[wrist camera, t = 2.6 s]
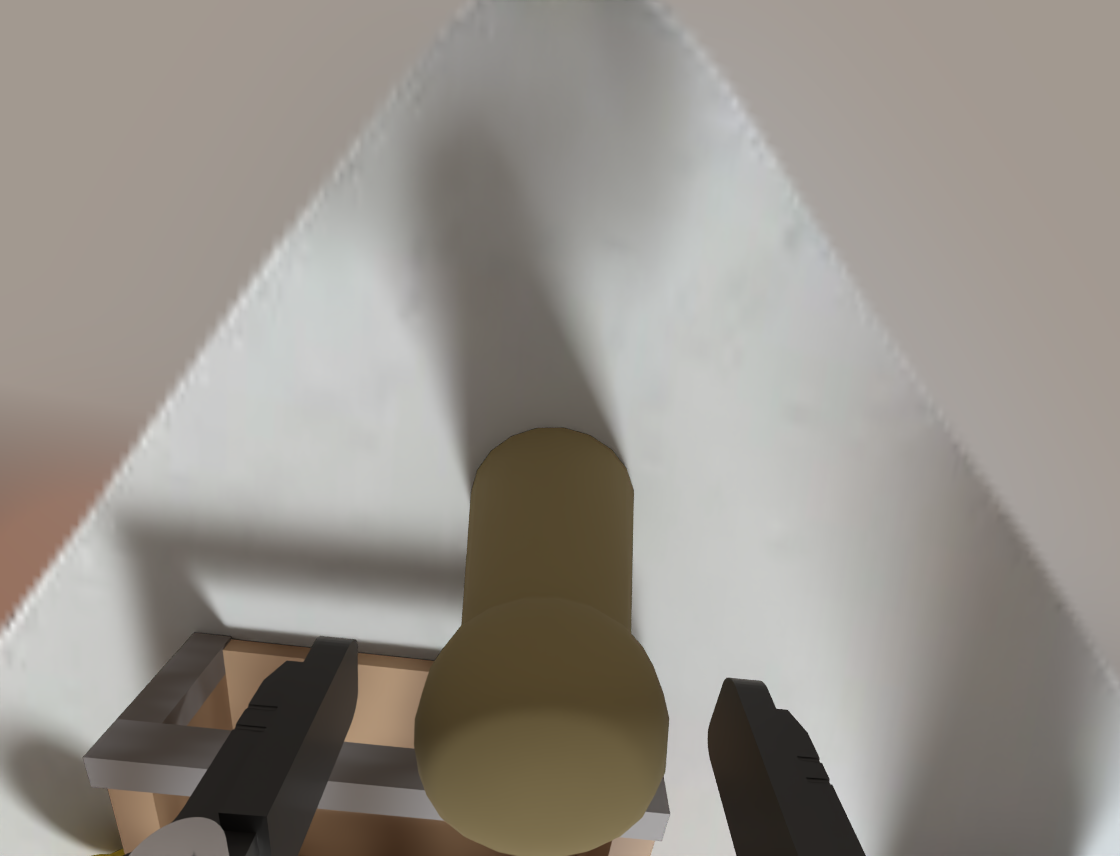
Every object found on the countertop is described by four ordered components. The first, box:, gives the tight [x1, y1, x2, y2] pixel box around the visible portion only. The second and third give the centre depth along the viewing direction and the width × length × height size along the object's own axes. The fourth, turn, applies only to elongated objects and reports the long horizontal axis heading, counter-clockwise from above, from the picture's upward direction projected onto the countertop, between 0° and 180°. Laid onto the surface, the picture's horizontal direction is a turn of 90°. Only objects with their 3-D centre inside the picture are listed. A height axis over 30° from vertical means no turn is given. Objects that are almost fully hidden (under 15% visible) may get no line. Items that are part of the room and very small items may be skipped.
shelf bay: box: [83, 633, 670, 856], centre depth 23 cm, size 19×14×6 cm
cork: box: [414, 428, 669, 856], centre depth 15 cm, size 6×6×11 cm
